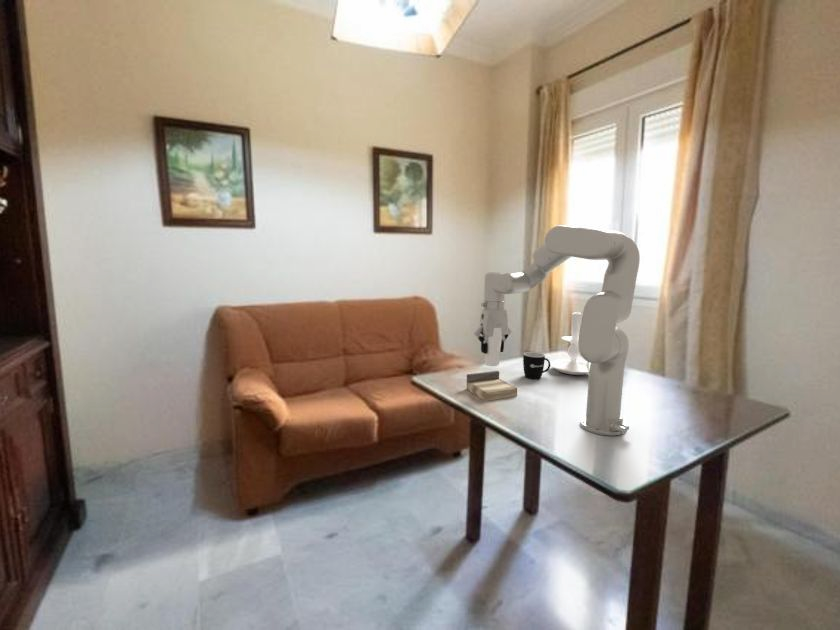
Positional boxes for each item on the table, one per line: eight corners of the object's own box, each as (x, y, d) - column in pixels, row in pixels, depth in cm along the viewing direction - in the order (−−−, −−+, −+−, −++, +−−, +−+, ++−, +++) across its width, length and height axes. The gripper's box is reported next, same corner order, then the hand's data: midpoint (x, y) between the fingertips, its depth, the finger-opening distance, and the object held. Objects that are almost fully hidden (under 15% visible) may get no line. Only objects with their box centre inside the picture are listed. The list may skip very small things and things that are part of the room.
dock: (517, 396, 153) (517, 380, 152) (484, 400, 148) (485, 385, 147) (496, 384, 166) (497, 370, 165) (466, 389, 161) (466, 374, 160)
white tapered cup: (479, 363, 157) (480, 325, 154) (493, 361, 160) (495, 324, 157) (490, 368, 151) (491, 328, 148) (504, 365, 154) (506, 327, 151)
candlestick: (572, 383, 168) (576, 317, 164) (540, 367, 191) (543, 309, 187) (614, 380, 173) (619, 315, 169) (578, 364, 197) (581, 307, 192)
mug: (526, 380, 172) (527, 357, 170) (519, 374, 180) (520, 352, 179) (553, 379, 173) (555, 356, 171) (545, 373, 182) (546, 351, 180)
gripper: (478, 307, 145) (477, 356, 148) (519, 305, 151) (517, 352, 154) (468, 305, 152) (467, 351, 155) (507, 303, 158) (506, 348, 161)
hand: (492, 351), depth 154 cm, fingers closed on white tapered cup, 6 cm apart
